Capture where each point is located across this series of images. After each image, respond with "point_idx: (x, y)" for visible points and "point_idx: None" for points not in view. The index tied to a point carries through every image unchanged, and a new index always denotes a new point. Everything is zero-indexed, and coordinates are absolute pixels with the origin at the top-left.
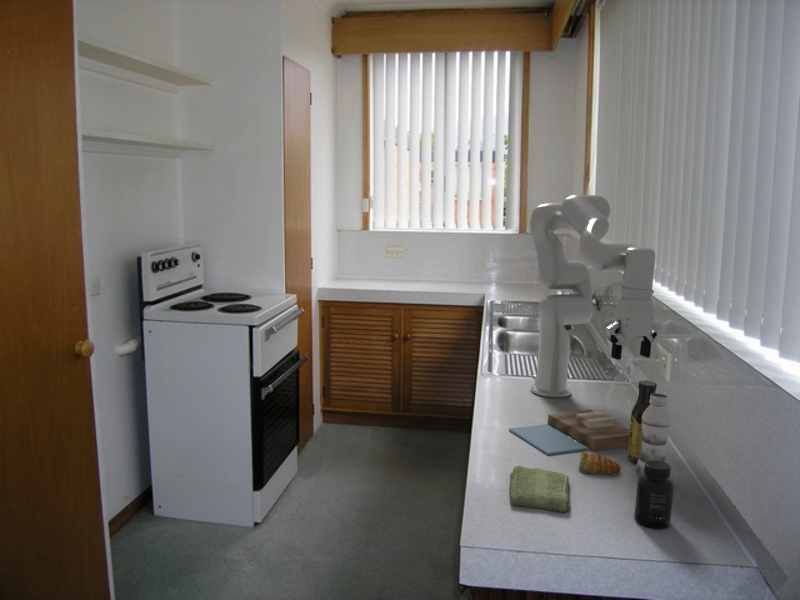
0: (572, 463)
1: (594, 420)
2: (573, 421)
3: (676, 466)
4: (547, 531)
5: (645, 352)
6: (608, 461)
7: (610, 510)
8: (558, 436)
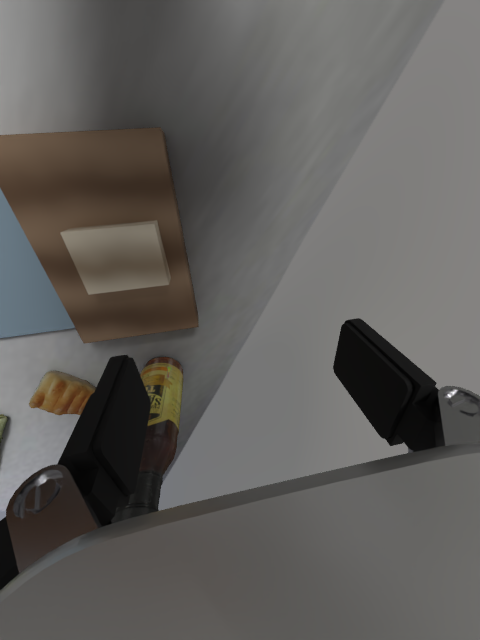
0: (31, 369)
1: (102, 291)
2: (61, 230)
3: (206, 386)
4: None
5: (347, 374)
6: (81, 410)
7: (54, 464)
8: (17, 261)
